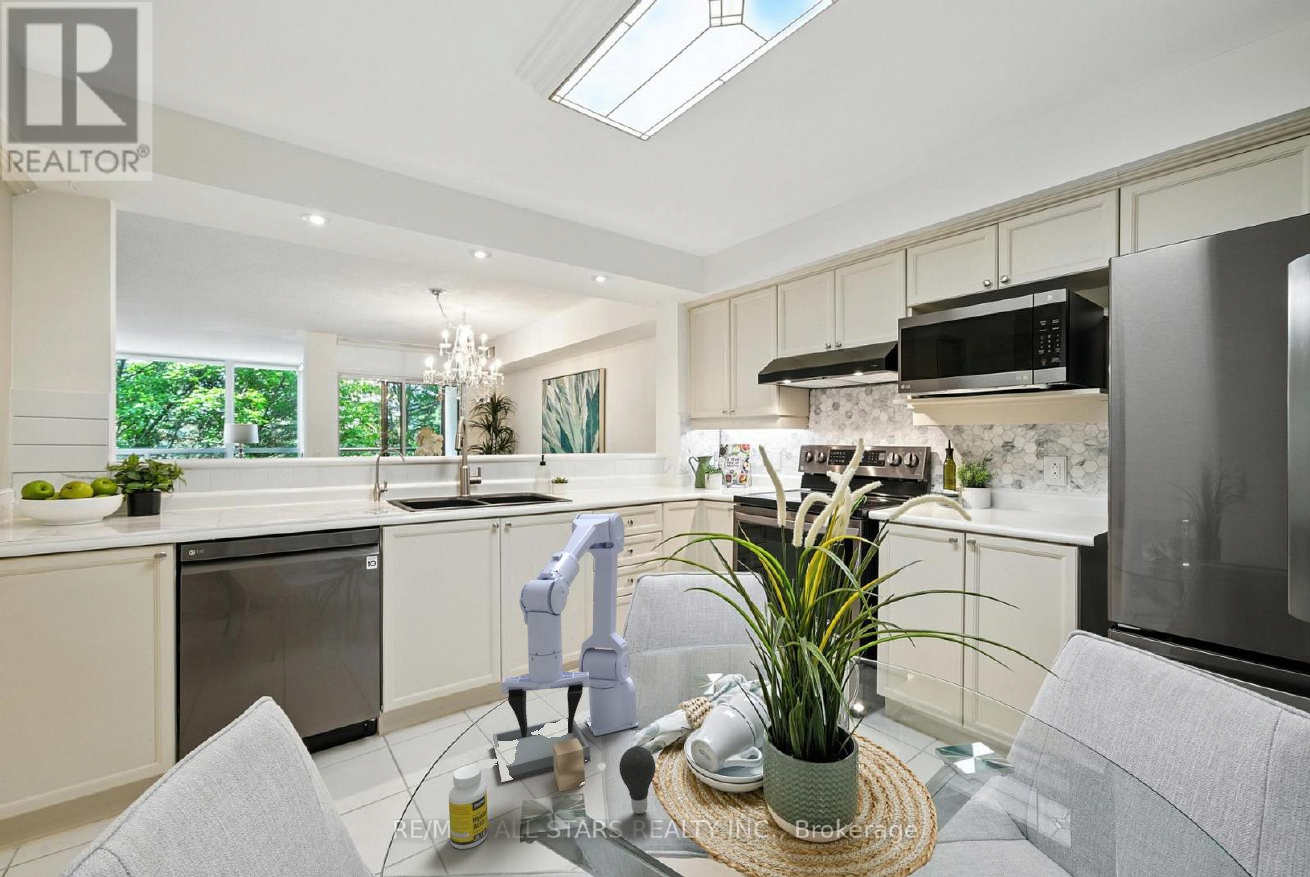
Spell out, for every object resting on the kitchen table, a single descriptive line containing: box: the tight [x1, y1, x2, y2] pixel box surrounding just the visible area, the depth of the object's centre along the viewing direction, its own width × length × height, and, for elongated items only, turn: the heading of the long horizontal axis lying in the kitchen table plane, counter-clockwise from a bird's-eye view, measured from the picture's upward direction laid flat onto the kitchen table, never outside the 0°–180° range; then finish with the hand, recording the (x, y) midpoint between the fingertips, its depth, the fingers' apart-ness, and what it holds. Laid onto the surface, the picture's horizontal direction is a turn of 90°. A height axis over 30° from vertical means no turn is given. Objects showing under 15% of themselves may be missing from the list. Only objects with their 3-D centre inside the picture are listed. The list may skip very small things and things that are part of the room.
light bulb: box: [618, 745, 656, 815], centre depth 89 cm, size 6×6×10 cm
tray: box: [492, 716, 591, 781], centre depth 109 cm, size 16×14×2 cm
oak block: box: [553, 738, 586, 792], centre depth 99 cm, size 4×4×6 cm
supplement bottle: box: [448, 764, 489, 850], centre depth 85 cm, size 5×5×10 cm
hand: (547, 732), depth 97 cm, fingers open, 7 cm apart
